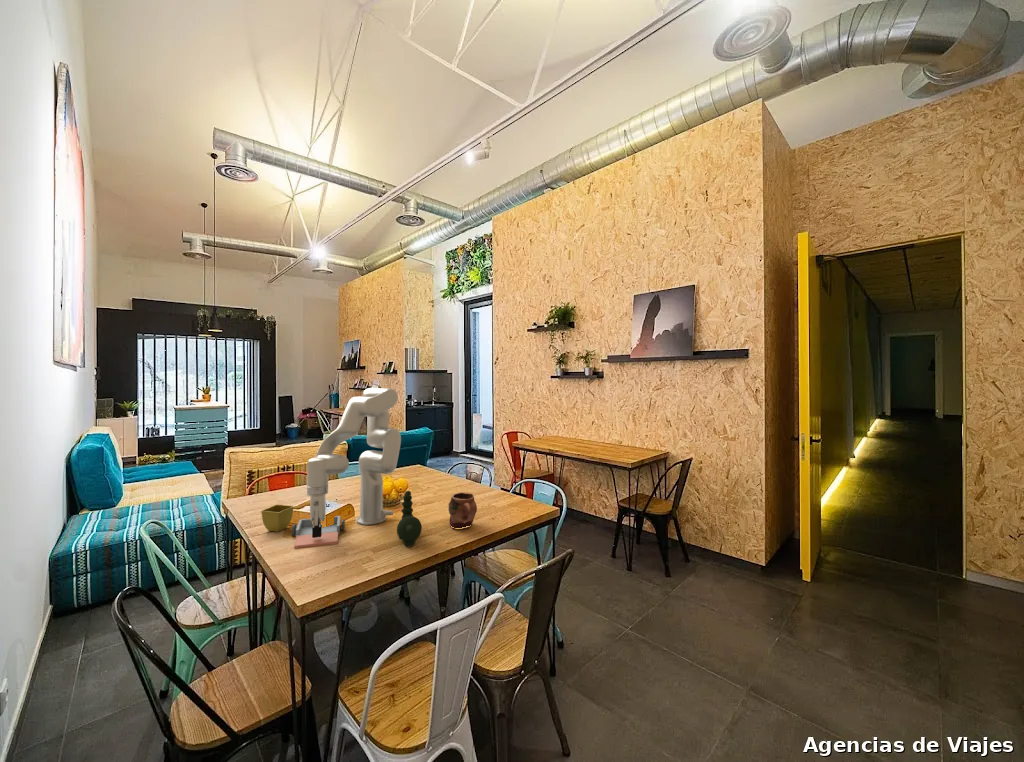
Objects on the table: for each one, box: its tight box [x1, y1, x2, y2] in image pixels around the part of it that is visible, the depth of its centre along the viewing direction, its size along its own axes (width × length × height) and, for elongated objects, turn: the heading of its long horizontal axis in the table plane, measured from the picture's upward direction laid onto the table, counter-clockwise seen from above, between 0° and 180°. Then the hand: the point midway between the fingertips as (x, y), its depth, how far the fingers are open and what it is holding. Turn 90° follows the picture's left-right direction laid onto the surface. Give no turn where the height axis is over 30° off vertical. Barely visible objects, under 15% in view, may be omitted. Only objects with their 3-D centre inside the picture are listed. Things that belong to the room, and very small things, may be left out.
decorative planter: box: [448, 492, 478, 528], centre depth 185 cm, size 20×12×14 cm, turn 29°
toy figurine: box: [396, 490, 423, 547], centre depth 169 cm, size 9×19×25 cm
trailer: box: [291, 515, 346, 537], centre depth 177 cm, size 16×20×4 cm
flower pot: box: [260, 504, 294, 532], centre depth 178 cm, size 9×9×9 cm
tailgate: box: [293, 531, 340, 549], centre depth 165 cm, size 1×16×8 cm
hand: (316, 536), depth 164 cm, fingers closed
